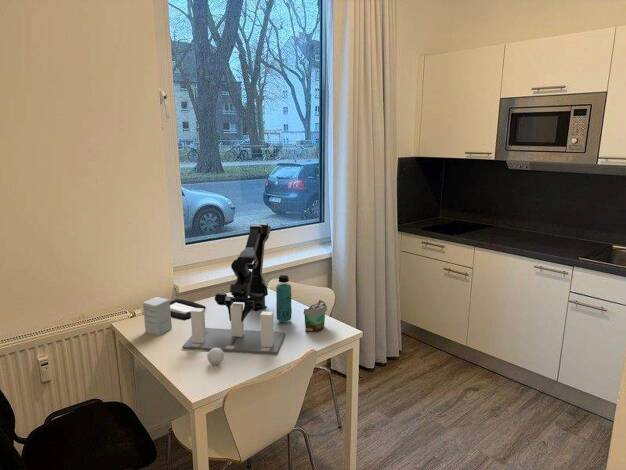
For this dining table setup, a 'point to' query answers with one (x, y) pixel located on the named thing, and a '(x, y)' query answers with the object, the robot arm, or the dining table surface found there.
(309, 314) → the food container
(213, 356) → the white sphere
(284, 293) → the beverage bottle
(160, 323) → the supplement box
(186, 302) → the light switch
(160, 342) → the dining table surface
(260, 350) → the three pillar stand
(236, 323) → the block
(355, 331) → the dining table surface
